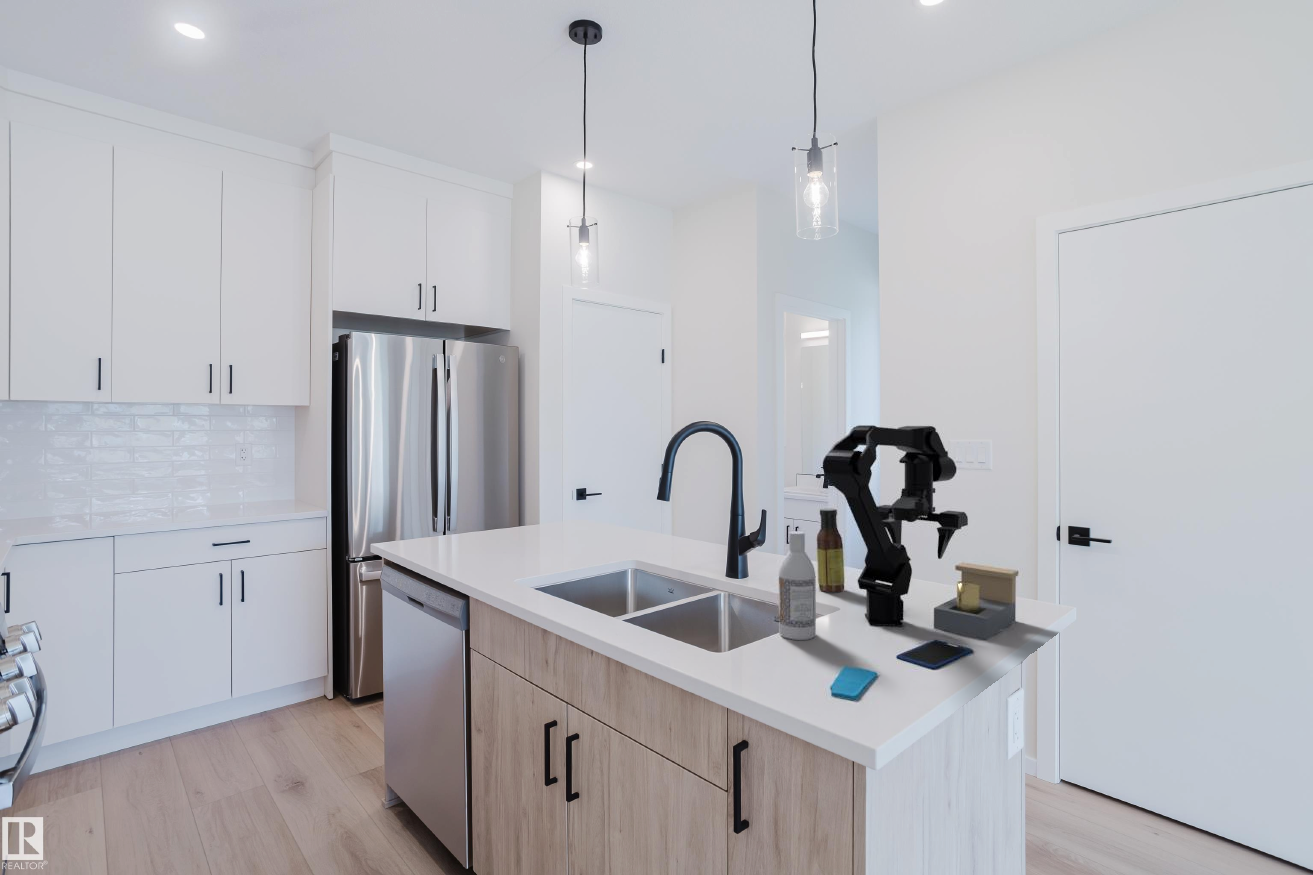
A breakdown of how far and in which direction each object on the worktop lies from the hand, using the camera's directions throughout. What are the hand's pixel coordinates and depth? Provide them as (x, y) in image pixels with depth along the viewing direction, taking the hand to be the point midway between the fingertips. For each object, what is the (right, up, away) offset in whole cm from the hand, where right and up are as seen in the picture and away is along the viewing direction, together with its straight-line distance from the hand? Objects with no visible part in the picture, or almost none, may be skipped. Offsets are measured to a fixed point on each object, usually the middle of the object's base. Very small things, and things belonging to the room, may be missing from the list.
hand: (918, 555), depth 141 cm
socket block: (+8, -12, -10) cm, 17 cm away
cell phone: (-8, -13, -26) cm, 30 cm away
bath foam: (-30, -13, -15) cm, 36 cm away
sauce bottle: (-14, -12, +18) cm, 26 cm away
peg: (+5, -11, -13) cm, 18 cm away
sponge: (-26, -14, -39) cm, 49 cm away
